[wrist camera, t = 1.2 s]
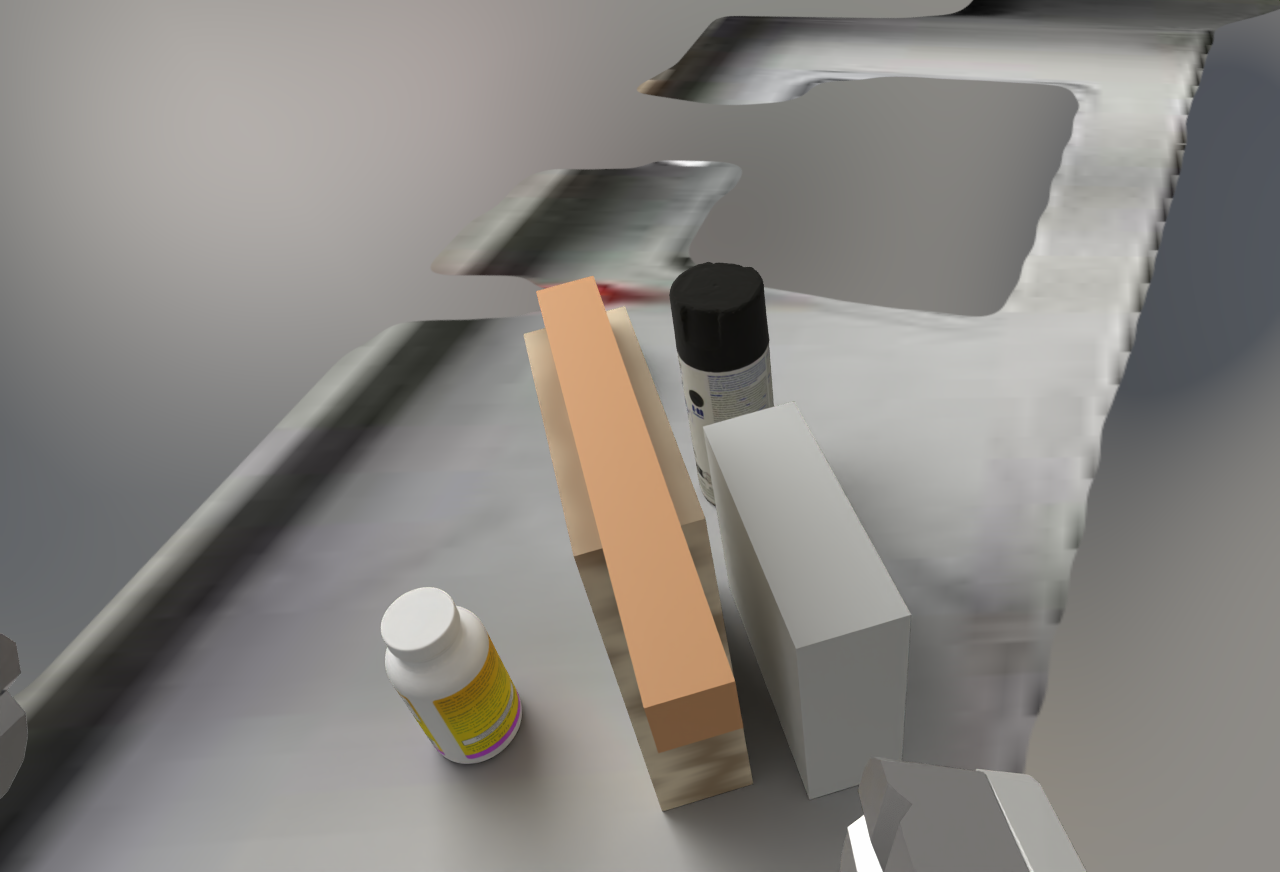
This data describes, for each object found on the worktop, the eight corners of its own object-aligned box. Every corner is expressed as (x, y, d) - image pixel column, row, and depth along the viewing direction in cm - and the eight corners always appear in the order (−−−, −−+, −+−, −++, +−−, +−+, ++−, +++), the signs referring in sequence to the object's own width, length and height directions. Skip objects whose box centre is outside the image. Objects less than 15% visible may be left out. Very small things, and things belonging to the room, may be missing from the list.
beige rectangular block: (662, 811, 58) (573, 556, 40) (609, 600, 70) (523, 334, 53) (753, 783, 58) (705, 518, 41) (684, 578, 71) (624, 306, 53)
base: (809, 799, 57) (795, 648, 45) (729, 588, 69) (702, 426, 58) (901, 771, 57) (911, 614, 46) (805, 565, 70) (793, 400, 58)
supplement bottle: (538, 690, 66) (488, 582, 57) (502, 777, 62) (442, 675, 53) (457, 673, 68) (396, 566, 59) (416, 756, 64) (344, 654, 55)
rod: (658, 753, 33) (643, 708, 31) (549, 337, 52) (536, 291, 50) (743, 727, 33) (735, 681, 31) (604, 322, 52) (593, 275, 50)
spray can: (717, 447, 80) (687, 253, 67) (792, 462, 78) (777, 263, 64) (687, 502, 76) (649, 308, 63) (765, 520, 74) (743, 321, 60)
